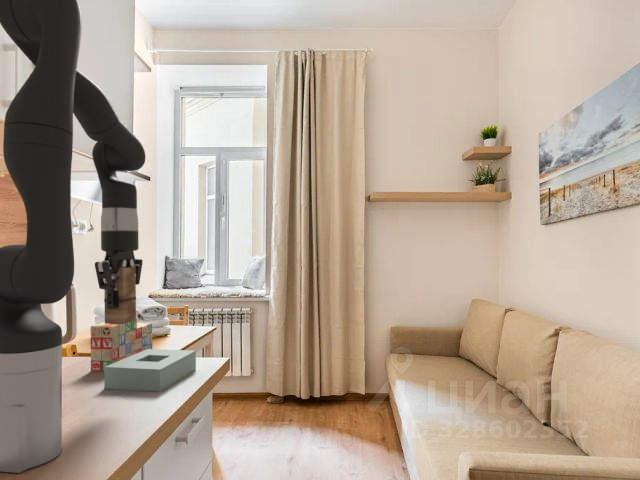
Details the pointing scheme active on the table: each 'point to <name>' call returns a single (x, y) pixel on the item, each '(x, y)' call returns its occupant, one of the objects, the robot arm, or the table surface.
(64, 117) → the robot arm
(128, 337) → the stack of blocks
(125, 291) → the walnut peg
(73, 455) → the table surface
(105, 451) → the table surface
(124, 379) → the socket board
